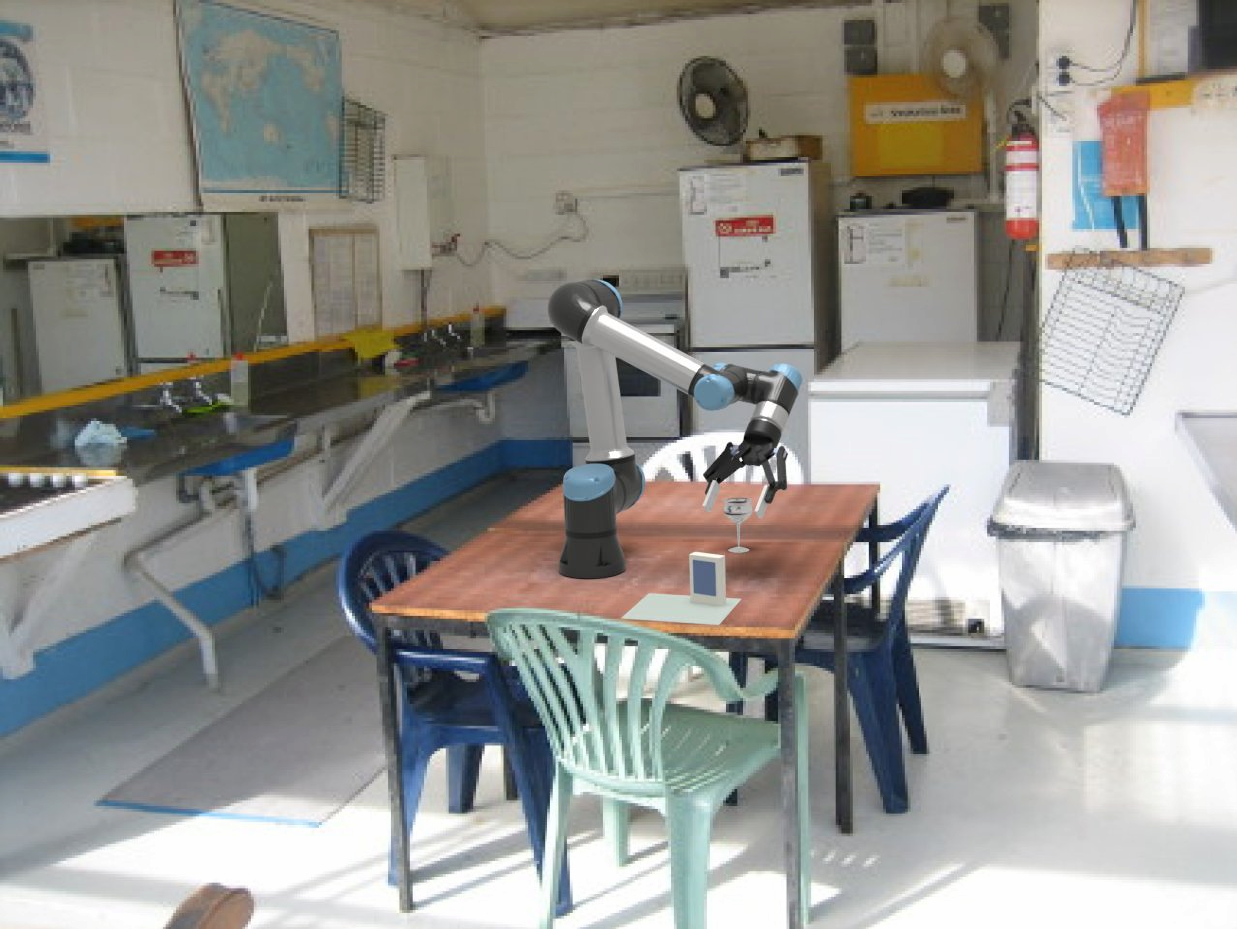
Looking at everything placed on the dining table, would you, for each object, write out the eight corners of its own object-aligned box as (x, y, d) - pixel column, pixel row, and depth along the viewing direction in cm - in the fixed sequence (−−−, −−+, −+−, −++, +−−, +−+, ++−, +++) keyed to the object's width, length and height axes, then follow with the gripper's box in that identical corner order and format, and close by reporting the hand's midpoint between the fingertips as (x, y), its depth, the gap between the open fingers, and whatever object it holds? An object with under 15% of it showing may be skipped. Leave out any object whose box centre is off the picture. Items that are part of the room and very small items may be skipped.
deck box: (719, 606, 268) (718, 558, 266) (690, 602, 272) (688, 554, 270) (726, 603, 270) (724, 555, 268) (696, 598, 274) (695, 551, 272)
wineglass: (752, 553, 310) (751, 503, 308) (723, 553, 311) (722, 503, 309) (754, 546, 317) (753, 497, 315) (725, 546, 318) (724, 497, 316)
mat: (620, 621, 262) (620, 618, 262) (649, 595, 279) (648, 593, 279) (718, 628, 256) (718, 625, 256) (741, 601, 272) (741, 598, 272)
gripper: (822, 441, 281) (789, 527, 272) (723, 434, 295) (689, 516, 285) (810, 420, 276) (777, 507, 267) (710, 414, 290) (675, 496, 280)
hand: (731, 512), depth 276 cm, fingers open, 12 cm apart
